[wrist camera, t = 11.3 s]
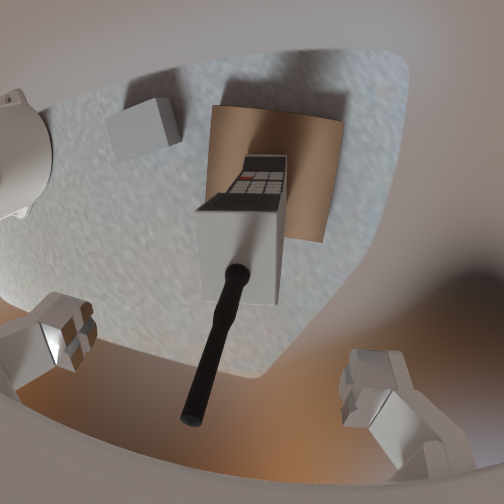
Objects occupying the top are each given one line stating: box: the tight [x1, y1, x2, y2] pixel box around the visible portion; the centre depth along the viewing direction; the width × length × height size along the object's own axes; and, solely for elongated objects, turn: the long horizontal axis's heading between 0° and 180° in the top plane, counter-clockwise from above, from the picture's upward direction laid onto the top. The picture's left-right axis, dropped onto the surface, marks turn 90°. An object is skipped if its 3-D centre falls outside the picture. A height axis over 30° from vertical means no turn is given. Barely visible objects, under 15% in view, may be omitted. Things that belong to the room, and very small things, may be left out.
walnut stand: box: [205, 105, 344, 243], centre depth 31 cm, size 12×12×3 cm
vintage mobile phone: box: [180, 154, 287, 427], centre depth 19 cm, size 4×5×25 cm
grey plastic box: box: [105, 98, 182, 164], centre depth 30 cm, size 6×5×4 cm
